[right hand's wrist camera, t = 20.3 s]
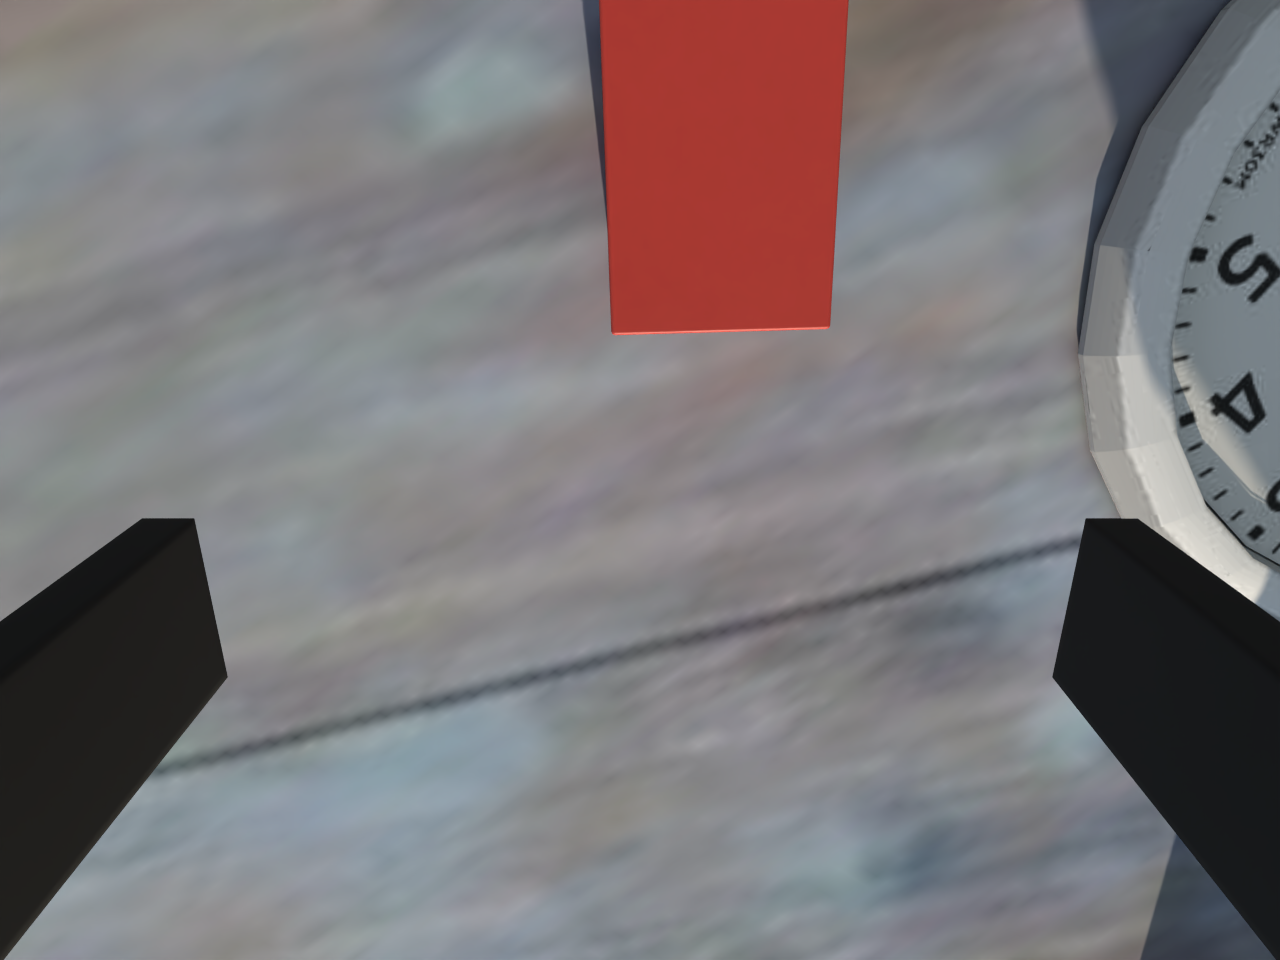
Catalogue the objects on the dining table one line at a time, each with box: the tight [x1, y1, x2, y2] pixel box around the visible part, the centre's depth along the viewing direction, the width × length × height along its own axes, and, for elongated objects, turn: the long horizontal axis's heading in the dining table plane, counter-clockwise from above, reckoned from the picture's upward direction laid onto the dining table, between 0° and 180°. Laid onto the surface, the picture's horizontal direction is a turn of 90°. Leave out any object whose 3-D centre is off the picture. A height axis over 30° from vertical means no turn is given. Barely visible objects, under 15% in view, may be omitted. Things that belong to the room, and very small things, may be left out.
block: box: [599, 0, 849, 335], centre depth 25 cm, size 9×6×8 cm, turn 1°
